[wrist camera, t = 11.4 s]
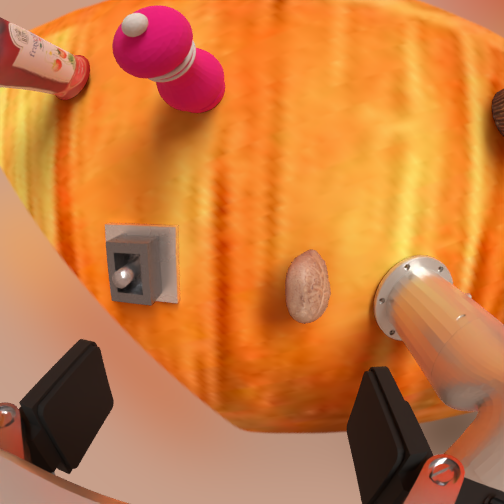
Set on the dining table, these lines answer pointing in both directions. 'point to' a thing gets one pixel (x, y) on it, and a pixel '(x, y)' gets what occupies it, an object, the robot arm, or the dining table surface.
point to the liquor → (39, 64)
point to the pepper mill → (169, 58)
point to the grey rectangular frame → (150, 268)
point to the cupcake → (499, 110)
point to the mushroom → (307, 287)
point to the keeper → (167, 257)
